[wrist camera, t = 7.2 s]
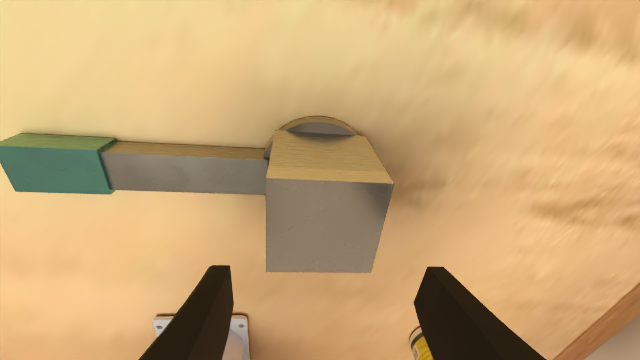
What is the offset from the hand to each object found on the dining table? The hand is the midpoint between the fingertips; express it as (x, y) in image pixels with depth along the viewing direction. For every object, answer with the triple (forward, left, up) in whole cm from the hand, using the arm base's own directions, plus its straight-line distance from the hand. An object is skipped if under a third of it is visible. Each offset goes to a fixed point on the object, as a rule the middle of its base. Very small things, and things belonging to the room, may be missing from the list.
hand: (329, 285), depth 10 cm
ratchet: (0, +7, -9) cm, 12 cm away
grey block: (0, 0, -8) cm, 8 cm away
